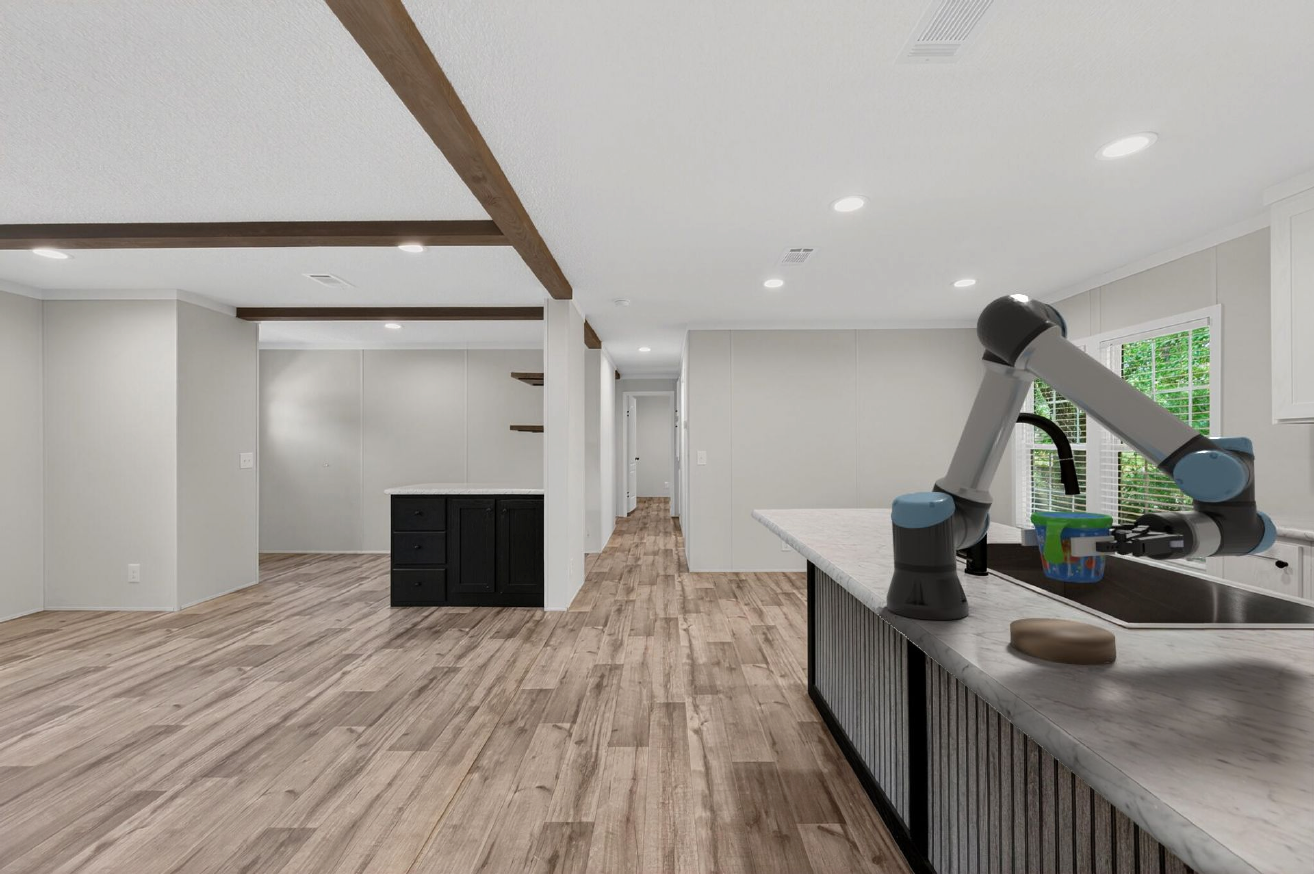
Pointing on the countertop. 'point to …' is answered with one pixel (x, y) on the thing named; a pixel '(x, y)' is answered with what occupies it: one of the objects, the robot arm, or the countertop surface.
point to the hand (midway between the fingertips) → (1046, 542)
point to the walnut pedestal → (1063, 641)
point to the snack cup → (1056, 544)
